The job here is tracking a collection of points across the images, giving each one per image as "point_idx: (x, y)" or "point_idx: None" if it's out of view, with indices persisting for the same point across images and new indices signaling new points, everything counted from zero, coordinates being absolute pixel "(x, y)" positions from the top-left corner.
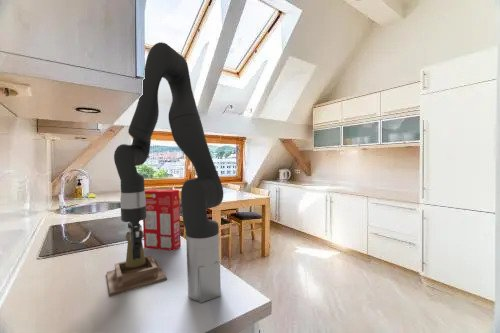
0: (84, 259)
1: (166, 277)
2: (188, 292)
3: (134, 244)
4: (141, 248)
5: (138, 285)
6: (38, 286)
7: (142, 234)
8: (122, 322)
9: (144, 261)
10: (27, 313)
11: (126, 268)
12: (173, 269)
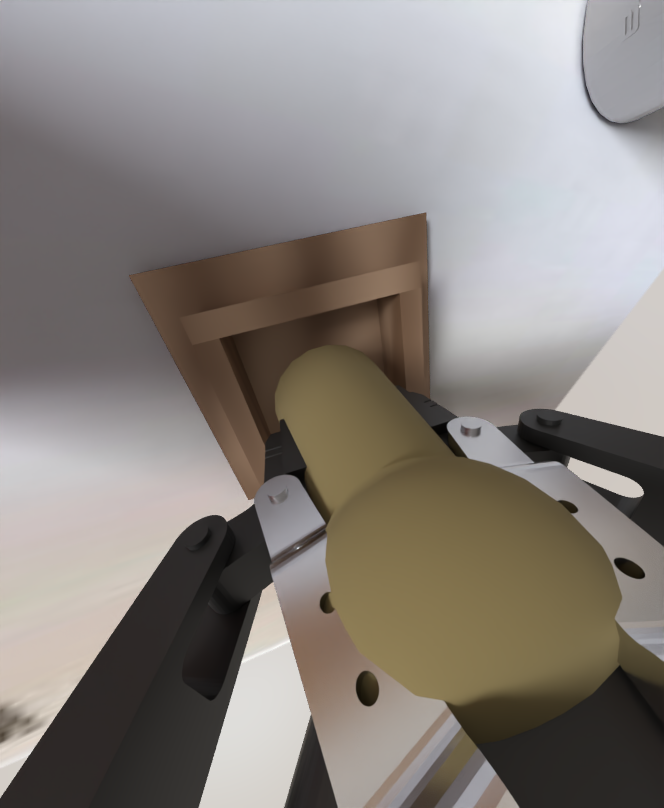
0: (50, 621)
1: (424, 216)
2: (648, 111)
3: (597, 487)
4: (408, 403)
5: (427, 355)
6: (277, 611)
7: (545, 505)
8: (567, 372)
9: (356, 351)
10: None
11: (267, 434)
12: (303, 147)
